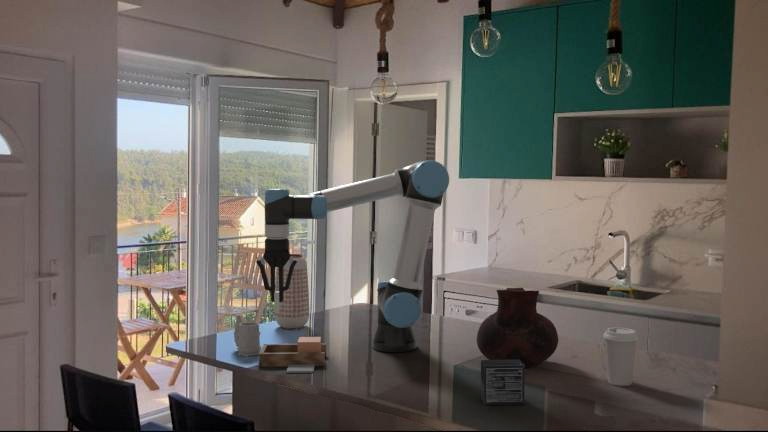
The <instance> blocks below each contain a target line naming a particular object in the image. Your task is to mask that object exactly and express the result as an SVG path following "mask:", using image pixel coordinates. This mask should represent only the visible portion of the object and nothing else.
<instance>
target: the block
mask: <svg viewBox="0 0 768 432" xmlns="http://www.w3.org/2000/svg"><path fill="white" fill-rule="evenodd" d="M297 344H298V353H299V352H321V344H322V336H299V337H298V340H297Z"/></svg>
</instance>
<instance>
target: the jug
mask: <svg viewBox="0 0 768 432" xmlns="http://www.w3.org/2000/svg"><path fill="white" fill-rule="evenodd" d="M496 294H497V298H498V302H497V308H496V311H495V312H493V313H492V314H490V315H489V316H487V317H486V318H485V319H484V320H483V321H482V322H481V324H480V325H479V328H478V329H477V333H476V334H477V335H476V345H477V347H478V350H479V352H480V353H481V354H482V355H483V357H485V359H486V360H520V361H521V362H522V363H523V364H524V369H529V368H533V367H536V366H539V365H541V364H542V363H544V362H545V361H547V360H548V359H549V358H550V357H552V355H554V353H555V352H556V350H557V348H558V345H559V334H558V330H557V328H556V326H555V324H554V323H553V321H551V320H550V319H549V318H548V317H547V316H545V315H543V314H541V313H538V311H537V304H538V297H539V294H540V291H539V290H533V289H532V290H530V289H529V290H525V288H524V287H507V288H506V289H497V290H496Z"/></svg>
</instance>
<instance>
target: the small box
mask: <svg viewBox="0 0 768 432" xmlns="http://www.w3.org/2000/svg"><path fill="white" fill-rule="evenodd" d="M480 399H481V401H482V402H483V405H484V406H508V405H509V406H512V405H514V406H515V405H518V406H519V405H520V406H521V405H525V403H526V401H525V368H524V364H523V363H522V362H521V361H520V360H489V359H481V360H480Z"/></svg>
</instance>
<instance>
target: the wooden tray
mask: <svg viewBox="0 0 768 432" xmlns="http://www.w3.org/2000/svg"><path fill="white" fill-rule="evenodd" d="M326 357H327V343H321V352H299V353H298V343H263V346H261V350H260V352H259V354H258V367H259V368H260V367H264V368H266V367H270V368H271V367H274V368H275V367H288V365H309V364H315V367H325V364H326V363H325V358H326Z"/></svg>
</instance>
